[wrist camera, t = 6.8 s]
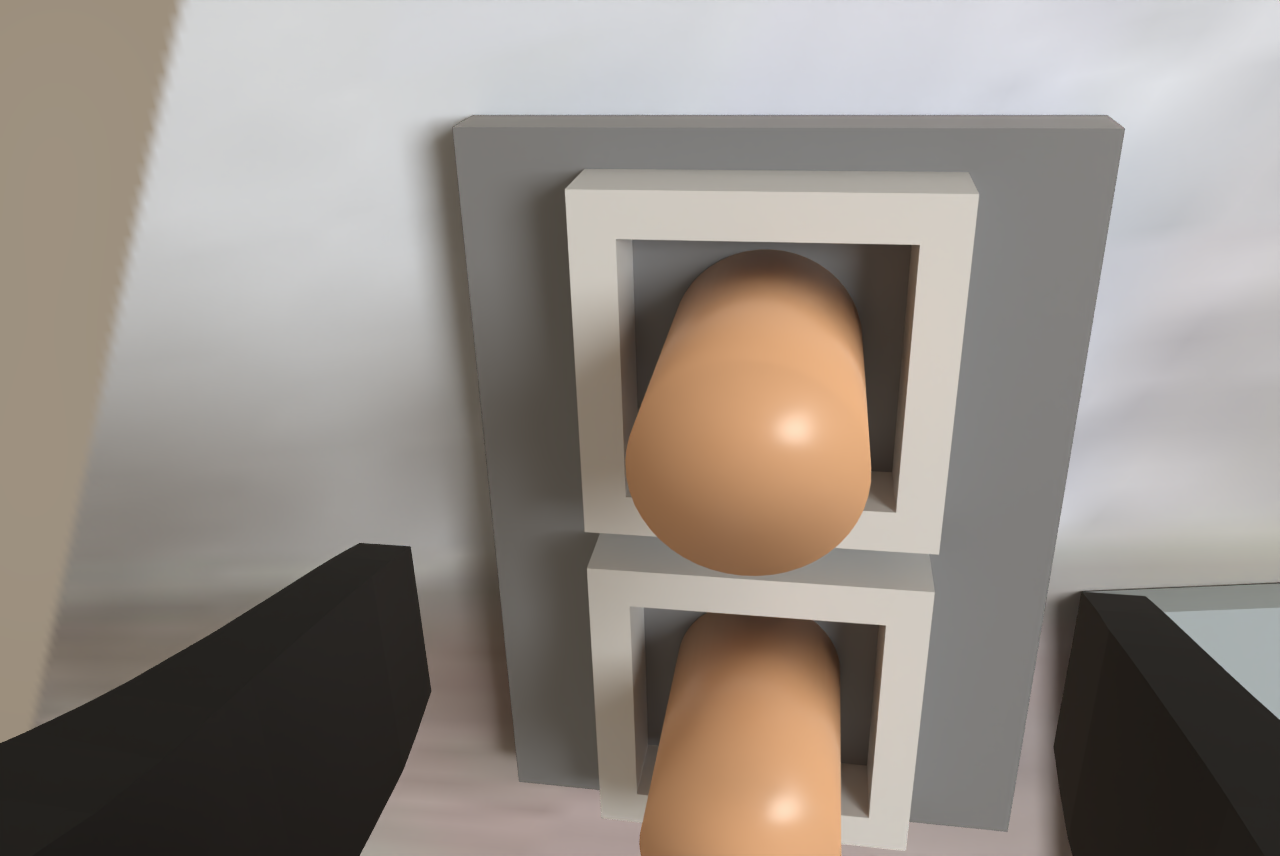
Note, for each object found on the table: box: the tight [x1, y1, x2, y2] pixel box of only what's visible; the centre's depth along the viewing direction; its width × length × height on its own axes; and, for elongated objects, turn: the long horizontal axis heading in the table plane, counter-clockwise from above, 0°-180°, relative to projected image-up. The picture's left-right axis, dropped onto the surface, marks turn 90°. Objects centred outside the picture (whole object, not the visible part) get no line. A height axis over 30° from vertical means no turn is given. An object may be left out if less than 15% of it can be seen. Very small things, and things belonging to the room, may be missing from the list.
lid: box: [1090, 583, 1280, 719], centre depth 22 cm, size 8×6×1 cm
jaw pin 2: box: [640, 612, 841, 856], centre depth 20 cm, size 3×3×5 cm
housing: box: [452, 115, 1125, 851], centre depth 21 cm, size 15×11×3 cm
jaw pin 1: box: [625, 249, 871, 576], centre depth 17 cm, size 3×3×5 cm
